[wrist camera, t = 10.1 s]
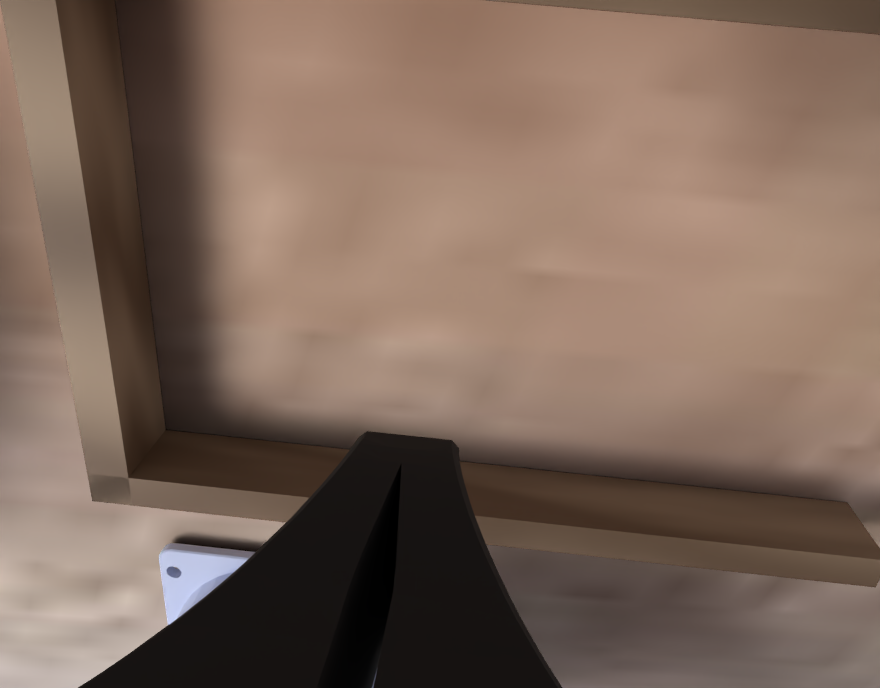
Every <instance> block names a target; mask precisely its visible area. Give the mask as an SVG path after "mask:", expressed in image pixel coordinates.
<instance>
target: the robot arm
mask: <svg viewBox="0 0 880 688" xmlns="http://www.w3.org/2000/svg"><path fill="white" fill-rule="evenodd" d="M159 563H160V571H161V578H162V585H163V593H164V600H165V607H166V614H167V622H168V626H166V627H165V628H164V629H162V630H161V631H160V632H158V633H157V634H156V635H154V636H153V637H151V638H150V639H149V640H147V641H146V642H145V643H143V644H142V645H140V646H139V647H138V648H136V649H135V650H134V651H132V652H131V653H130V654H128V655H127V656H125V657H124V658H122V659H121V660H119V661H118V662H116V663H115V664H114V665H112V666H111V667H109V668H108V669H106V670H105V671H103V672H102V673H100V674H99V675H97V676H96V677H94V678H93V679H91V680H90V681H88V682H86V683H85V684H83V685H81V686H80V687H78V688H562V687H561V685H560V683H559V682H558V680H557V679H556V677H555V676H554V674H553V672H552V671H551V669H550V668H549V666H548V665H547V663H546V661H545V660H544V658H543V656H542V654H541V653H540V651H539V649H538V648H537V646H536V644H535V642H534V641H533V639H532V637H531V636H530V634H529V632H528V630H527V629H526V627H525V625H524V623H523V621H522V619H521V617H520V616H519V614H518V612H517V610H516V608H515V606H514V604H513V602H512V600H511V598H510V596H509V594H508V592H507V590H506V588H505V586H504V584H503V582H502V580H501V577H500V575H499V573H498V571H497V569H496V567H495V564H494V562H493V560H492V558H491V555H490V553H489V551H488V548H487V546H486V543H485V541H484V538H483V536H482V533H481V530H480V528H479V525H478V523H477V520H476V518H475V515H474V512H473V509H472V506H471V503H470V500H469V497H468V493H467V490H466V486H465V483H464V479H463V475H462V471H461V466H460V459H459V448H458V447H457V446H456V444H455V443H454V442H453V441H452V440H444V439H435V438H425V437H416V436H406V435H397V434H387V433H378V432H369V431H367V432H366V433H364V434H363V435H362V436H360V437H359V438H358V439H357V441H356V442H355V444H354V445H353V446H352V448H351V449H350V450H349V452H348V453H347V454H346V456H345V457H344V458H343V459H342V461H341V462H340V463H339V464H338V466H337V467H336V468H335V469H334V470H333V472H332V473H331V474H330V475H329V476H328V478H327V479H326V480H325V481H324V482H323V483H322V485H321V486H320V487H319V488H318V489H317V490H316V491H315V492H314V493H313V494H312V496H311V497H310V498H309V499H308V500H307V501H306V502H305V503H304V504H303V505H302V506H301V507H300V509H299V510H298V511H297V512H296V513H295V514H294V515H293V516H292V517H291V518H290V519H289V520H288V521H287V522H286V523H285V524H284V525H283V526H282V527H281V528H280V529H279V530H278V531H277V532H276V533H275V534H274V535H273V536H272V537H271V538H270V539H269V540H268V541H267V542H266V543H265V544H264V545H263V546H261V547H260V548H259V549H258V550H257V551H256V552H250V551H241V550H232V549H223V548H214V547H206V546H197V545H188V544H179V543H170V544H167V545H166V546H165V547H164V548H163V550H162V551H161V553H160V554H159ZM173 566H174V567H177V568H178V569H176V568H174V567H173Z"/></svg>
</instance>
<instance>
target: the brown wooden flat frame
mask: <svg viewBox="0 0 880 688" xmlns="http://www.w3.org/2000/svg"><path fill="white" fill-rule="evenodd" d="M488 1H499V2H511V3H522V4H534V5H545V6H557V7H568V8H580V9H592V10H603V11H615V12H626V13H638V14H649V15H661V16H672V17H684V18H695V19H707V20H718V21H730V22H742V23H753V24H765V25H776V26H788V27H799V28H811V29H822V30H834V31H845V32H857V33H868V34H880V0H488ZM0 3H1V9H2V14H3V19H4V25H5V30H6V36H7V41H8V46H9V52H10V57H11V63H12V68H13V74H14V79H15V84H16V90H17V95H18V101H19V106H20V111H21V117H22V122H23V128H24V133H25V138H26V144H27V149H28V155H29V160H30V166H31V171H32V176H33V182H34V187H35V193H36V198H37V203H38V209H39V214H40V220H41V225H42V231H43V236H44V241H45V247H46V252H47V258H48V263H49V268H50V274H51V279H52V285H53V290H54V296H55V301H56V306H57V312H58V317H59V323H60V328H61V333H62V339H63V344H64V350H65V355H66V361H67V366H68V371H69V377H70V382H71V388H72V393H73V398H74V404H75V409H76V415H77V420H78V426H79V431H80V436H81V442H82V447H83V453H84V458H85V463H86V469H87V474H88V480H89V485H90V491H91V496H92V501H97V502H106V503H115V504H124V505H133V506H142V507H151V508H160V509H169V510H178V511H187V512H197V513H206V514H215V515H224V516H233V517H242V518H251V519H260V520H269V521H278V522H287V521H288V520H289V519H290V518H291V517H292V516H293V515H294V514H295V513H296V512H297V511H298V510H299V509H300V507H301V506H302V505H303V504H304V503H305V502H306V501H307V500H308V499H309V498H310V497H311V496H312V494H313V493H314V492H315V491H316V490H317V489H318V488H319V487H320V486H321V485H322V483H323V482H324V481H325V480H326V479H327V478H328V476H329V475H330V474H331V473H332V472H333V470H334V469H335V468H336V467H337V466H338V464H339V463H340V462H341V461H342V459H343V458H344V457H345V456H346V454H347V453H348V452H349V449H340V448H330V447H321V446H312V445H302V444H293V443H284V442H274V441H265V440H255V439H246V438H237V437H227V436H218V435H209V434H199V433H190V432H180V431H171V430H166V429H165V421H164V412H163V404H162V396H161V387H160V379H159V370H158V362H157V353H156V345H155V336H154V328H153V319H152V311H151V303H150V294H149V286H148V277H147V269H146V260H145V252H144V243H143V235H142V227H141V218H140V210H139V201H138V193H137V184H136V176H135V167H134V159H133V150H132V142H131V134H130V125H129V117H128V108H127V100H126V91H125V83H124V74H123V66H122V58H121V49H120V41H119V32H118V24H117V15H116V7H115V0H0ZM460 466H461V471H462V475H463V479H464V483H465V486H466V490H467V493H468V497H469V500H470V503H471V506H472V509H473V512H474V515H475V518H476V520H477V523H478V525H479V528H480V530H481V533H482V536H483V538H484V541H485V543H486V544H487V545H496V546H505V547H514V548H523V549H532V550H541V551H550V552H559V553H569V554H578V555H587V556H596V557H605V558H614V559H623V560H632V561H641V562H650V563H659V564H668V565H677V566H686V567H696V568H705V569H714V570H723V571H732V572H741V573H750V574H759V575H768V576H777V577H786V578H795V579H804V580H814V581H823V582H832V583H841V584H850V585H859V586H868V587H876V585H877V583H878V581H879V579H880V548H879V547H878V545H877V544H876V543H875V541H874V540H873V538H872V537H871V536H870V534H869V533H868V531H867V530H866V528H865V527H864V526H863V524H862V523H861V521H860V520H859V519H858V517H857V516H856V514H855V513H854V511H853V510H852V509H851V507H850V506H849V504H848V503H846V502H836V501H827V500H818V499H808V498H799V497H789V496H780V495H771V494H761V493H752V492H743V491H733V490H724V489H714V488H705V487H696V486H686V485H677V484H668V483H658V482H649V481H640V480H630V479H621V478H611V477H602V476H593V475H583V474H574V473H565V472H555V471H546V470H536V469H527V468H518V467H508V466H499V465H490V464H480V463H471V462H462V461H460Z"/></svg>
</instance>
